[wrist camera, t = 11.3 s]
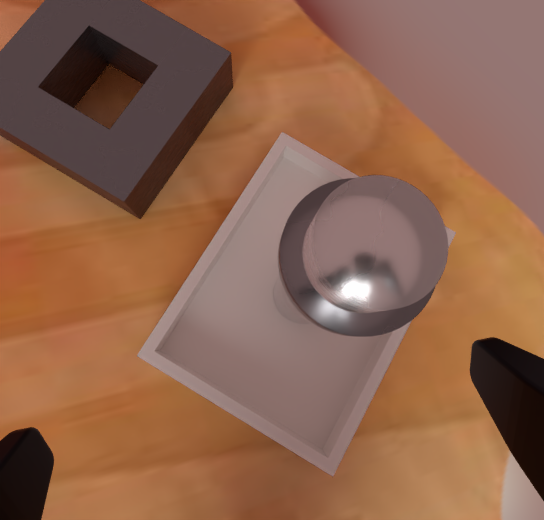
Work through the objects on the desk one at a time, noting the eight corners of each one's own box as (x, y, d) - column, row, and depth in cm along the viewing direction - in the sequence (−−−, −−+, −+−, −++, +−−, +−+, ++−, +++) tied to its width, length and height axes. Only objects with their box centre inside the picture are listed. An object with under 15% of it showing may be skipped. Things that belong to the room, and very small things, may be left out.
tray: (324, 462, 20) (332, 476, 18) (147, 353, 21) (136, 355, 19) (438, 241, 23) (456, 232, 21) (279, 148, 23) (282, 131, 21)
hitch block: (140, 219, 22) (123, 201, 19) (-6, 131, 22) (-44, 101, 19) (232, 87, 24) (230, 52, 21) (97, 8, 24) (76, -36, 21)
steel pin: (300, 352, 21) (382, 380, 8) (245, 291, 21) (246, 231, 9) (357, 297, 21) (510, 248, 9) (304, 239, 22) (379, 117, 9)
